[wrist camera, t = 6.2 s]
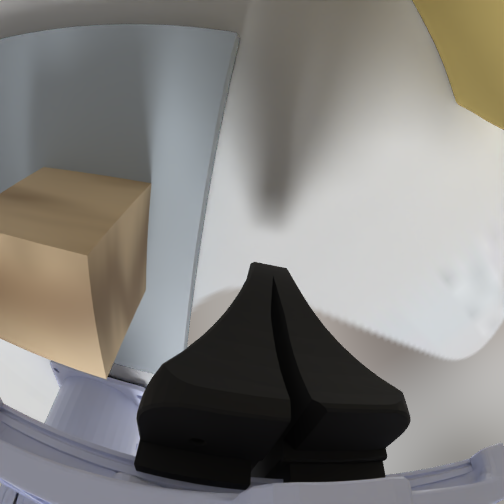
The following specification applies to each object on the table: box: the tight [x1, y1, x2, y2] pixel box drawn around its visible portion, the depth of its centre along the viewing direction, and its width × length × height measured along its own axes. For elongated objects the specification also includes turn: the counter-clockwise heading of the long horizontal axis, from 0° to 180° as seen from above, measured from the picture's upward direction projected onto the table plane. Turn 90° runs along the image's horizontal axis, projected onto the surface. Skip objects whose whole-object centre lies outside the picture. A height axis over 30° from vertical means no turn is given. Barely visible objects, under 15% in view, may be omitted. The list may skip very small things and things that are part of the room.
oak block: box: [0, 167, 151, 379], centre depth 10 cm, size 5×5×5 cm
